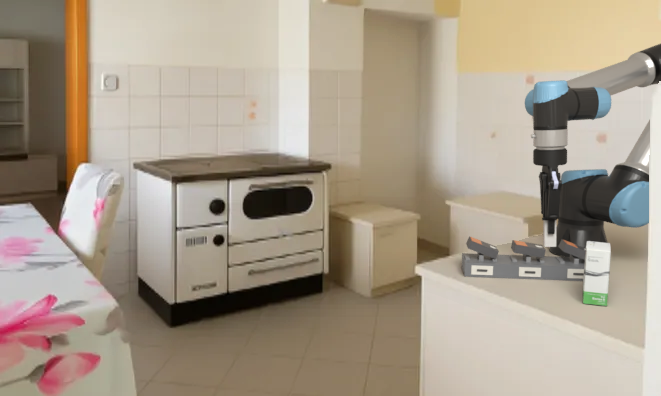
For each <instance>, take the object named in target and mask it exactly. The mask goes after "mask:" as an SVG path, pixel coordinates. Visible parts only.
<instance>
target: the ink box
mask: <svg viewBox="0 0 661 396" xmlns="http://www.w3.org/2000/svg"><path fill="white" fill-rule="evenodd" d="M611 250H612V247H611V243H610V242H608V243H603V242H594V241H587V243H586V253H585V264H584V277H583V281H582V304H584V305H585V304H587V305H594V306H603V307H608V301H609V300H608V299H609V288H610V287H609V286H610V272H611V257H612V251H611Z"/></svg>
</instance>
